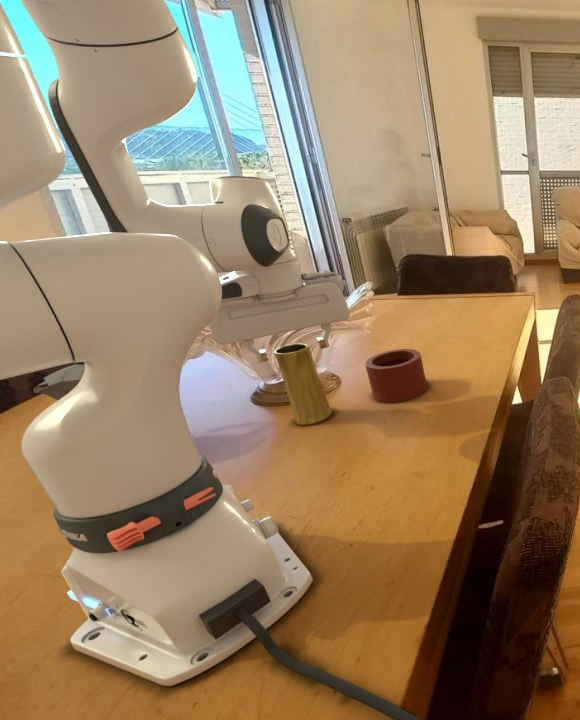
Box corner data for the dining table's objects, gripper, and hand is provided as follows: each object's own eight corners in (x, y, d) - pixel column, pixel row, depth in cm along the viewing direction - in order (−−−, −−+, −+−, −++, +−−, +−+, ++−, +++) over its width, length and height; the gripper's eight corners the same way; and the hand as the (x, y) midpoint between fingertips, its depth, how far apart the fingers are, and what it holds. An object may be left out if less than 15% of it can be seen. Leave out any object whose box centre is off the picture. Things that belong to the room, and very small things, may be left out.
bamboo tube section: (315, 426, 87) (291, 355, 82) (287, 424, 88) (262, 353, 83) (339, 410, 93) (318, 342, 87) (312, 408, 94) (290, 341, 88)
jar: (437, 385, 102) (431, 353, 99) (396, 406, 93) (388, 372, 91) (404, 377, 106) (397, 346, 103) (362, 396, 98) (353, 363, 95)
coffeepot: (105, 473, 75) (48, 371, 68) (58, 469, 77) (-3, 368, 70) (198, 423, 89) (159, 334, 82) (156, 421, 91) (114, 333, 84)
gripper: (335, 266, 88) (353, 335, 94) (194, 285, 76) (224, 363, 82) (343, 271, 84) (361, 344, 89) (194, 293, 72) (226, 375, 77)
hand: (295, 353), depth 85 cm, fingers open, 8 cm apart
